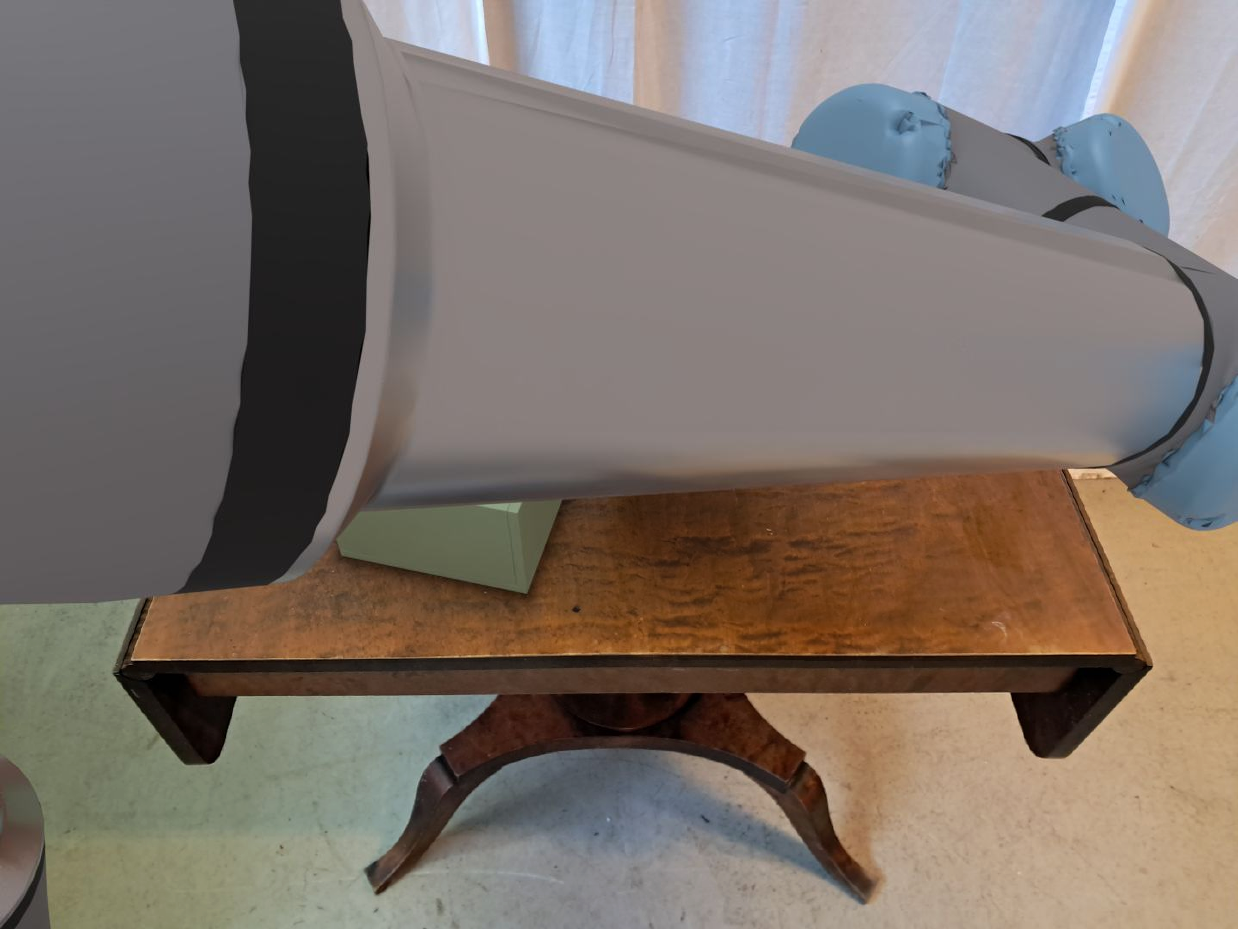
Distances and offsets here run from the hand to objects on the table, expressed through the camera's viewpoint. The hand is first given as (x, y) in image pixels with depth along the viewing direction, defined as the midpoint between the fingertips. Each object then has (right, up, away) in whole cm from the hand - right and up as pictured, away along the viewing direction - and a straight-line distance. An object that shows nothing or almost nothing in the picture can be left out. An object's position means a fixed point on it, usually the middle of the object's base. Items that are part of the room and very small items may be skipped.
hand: (631, 400), depth 72 cm
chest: (-14, -7, +9) cm, 18 cm away
